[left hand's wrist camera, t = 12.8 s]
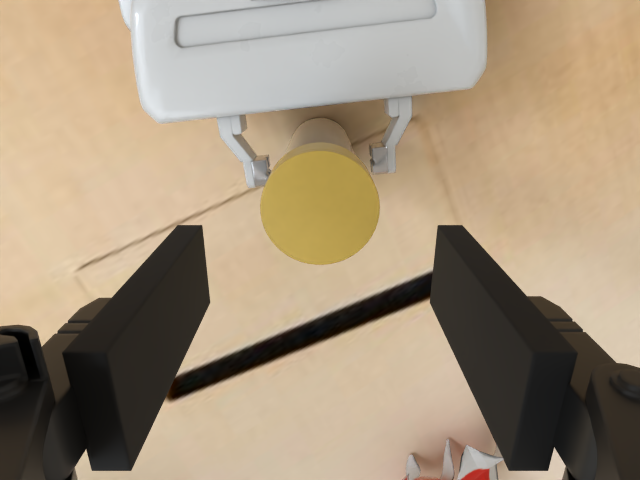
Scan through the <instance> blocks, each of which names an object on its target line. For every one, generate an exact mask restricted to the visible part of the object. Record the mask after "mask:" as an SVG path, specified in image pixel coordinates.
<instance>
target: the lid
mask: <svg viewBox="0 0 640 480" xmlns="http://www.w3.org/2000/svg"><path fill="white" fill-rule="evenodd" d="M260 211H261V218H262V223H263V226H264V228H265V231H266V233H267V235H268V236H269V238H270V239H271V241H272V242H273V243H274V244H275V246H276V247H277V248H279V249H280V250H281V251H282V252H283V253H285V254H286V255H288V256H289V257H291V258H293V259H295V260H298V261H300V262H304V263H308V264H315V265H324V264H332V263H336V262H339V261H342V260H345V259H347V258H349V257H351V256H352V255H354V254H355V253H357V252H358V251H359V250H360V249H362V248H363V247H364V246H365V244H366V243H367V242H368V241H369V239H370V238H371V236H372V235H373V233H374V231H375V229H376V226H377V223H378V218H379V211H380V204H379V197H378V192H377V189H376V187H375V184H374V182H373V180H372V178H371V176H370V174H369V172H368V170H367V168H366V167H365V165H364V164H363V162H362V161H361V160H360V159H359V158H358V157H357V156H356V155H354V154H353V153H352V152H350V151H349V150H347V149H345V148H343V147H341V146H338V145H335V144H331V143H323V142H316V143H309V144H305V145H302V146H299V147H297V148H295V149H293V150H291V151H289V152H288V153H287V154H286V155H284V156H283V157H282V158H281V159H280V160H279V161H278V162H277V164H276V165H275V166H274V168H273V170H272V172H271V174H270V176H269V178H268V180H267V182H266V184H265V187H264V189H263V192H262V197H261V204H260Z"/></svg>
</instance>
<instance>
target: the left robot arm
mask: <svg viewBox="0 0 640 480" xmlns="http://www.w3.org/2000/svg"><path fill="white" fill-rule="evenodd" d="M209 304H210V296H209V287H208V277H207V267H206V258H205V248H204V238H203V229H202V225H178V226H177V227H176V228H175V229H174V230H173V231H172V232H171V233H170V234H169V235H168V237H167V238H166V239H165V240H164V241H163V242H162V243H161V244H160V245H159V246H158V248H157V249H156V250H155V251H154V252H153V253H152V254H151V255H150V256H149V257H148V259H147V260H146V261H145V262H144V263H143V264H142V265H141V266H140V267H139V268H138V270H137V271H136V272H135V273H134V274H133V275H132V276H131V277H130V278H129V279H128V281H127V282H126V283H125V284H124V285H123V286H122V287H121V288H120V289H119V290H118V292H117V293H116V294H115V295H114V296H113V297H112V298H98V299H96V300H95V301H93V302H91V303H89V304H87V305H86V306H84V307H82V308H80V309H79V310H78V311H77V312H76V313H75V314H74V315H73V316H72V317H71V318H70V319H69V320H68V323H65V324H64V325H63V326H62V327H61V328H60V329H59V330H58V333H57V334H54V335H53V336H52V337H51V338H50V339H49V340H48V341H47V342H46V343H45V344H44V345H43V346H42V347H41V343H40V340H39V336H38V332H37V331H36V330H35V329H33V328H32V327H30V326H23V325H10V326H1V327H0V480H77V475H76V471H75V468H74V467H75V466H76V464H77V463H78V461H79V459H80V458H81V456H82V454H83V453H84V451H85V450H86V449H87V453H88V457H89V461H90V465H91V469H92V471H131V470H132V468H133V466H134V463H135V461H136V459H137V457H138V455H139V453H140V451H141V449H142V446H143V444H144V442H145V440H146V438H147V436H148V434H149V432H150V429H151V427H152V425H153V423H154V421H155V419H156V417H157V414H158V412H159V410H160V408H161V406H162V404H163V402H164V400H165V397H166V395H167V393H168V391H169V389H170V387H171V385H172V383H173V380H174V378H175V376H176V374H177V372H178V370H179V368H180V366H181V363H182V361H183V359H184V357H185V355H186V353H187V351H188V349H189V346H190V344H191V342H192V340H193V338H194V336H195V334H196V332H197V329H198V327H199V325H200V323H201V321H202V319H203V317H204V315H205V312H206V310H207V308H208V306H209ZM430 304H431V306H432V308H433V310H434V312H435V315H436V317H437V319H438V321H439V323H440V325H441V327H442V329H443V332H444V334H445V336H446V338H447V340H448V342H449V344H450V346H451V349H452V351H453V353H454V355H455V357H456V359H457V361H458V363H459V366H460V368H461V370H462V372H463V374H464V376H465V378H466V380H467V383H468V385H469V387H470V389H471V391H472V393H473V395H474V397H475V400H476V402H477V404H478V406H479V408H480V410H481V412H482V414H483V417H484V419H485V421H486V423H487V425H488V427H489V429H490V432H491V434H492V436H493V438H494V440H495V442H496V444H497V446H498V449H499V451H500V453H501V455H502V457H503V459H504V461H505V463H506V466H507V468H508V470H509V471H548V469H549V465H550V461H551V457H552V453H553V449H554V447H555V449H556V450H557V452H558V454H559V455H560V457H561V459H562V460H563V462H564V463H565V465H566V468H565V471H564V475H563V479H562V480H640V368H638V367H635V366H631V365H628V364H621V363H616V362H615V361H614V360H613V359H612V358H611V357H610V356H609V355H608V354H607V353H606V352H605V351H604V350H603V349H602V348H601V347H600V346H599V345H598V344H597V343H596V342H595V341H594V340H593V339H592V338H591V337H590V336H589V335H588V334H587V333H586V332H583V329H582V328H581V327H580V326H579V325H578V324H577V323H576V322H573V321H572V318H571V317H570V316H569V315H568V314H567V313H566V312H565V311H564V310H563V309H562V308H561V307H559V306H557V305H556V304H554V303H552V302H550V301H548V300H547V299H545V298H543V297H541V296H526V295H525V294H524V293H523V292H522V290H521V289H520V288H519V287H518V286H517V285H516V284H515V283H514V282H513V281H512V279H511V278H510V277H509V276H508V275H507V274H506V273H505V272H504V271H503V270H502V268H501V267H500V266H499V265H498V264H497V263H496V262H495V261H494V260H493V259H492V257H491V256H490V255H489V254H488V253H487V252H486V251H485V250H484V249H483V248H482V246H481V245H480V244H479V243H478V242H477V241H476V240H475V239H474V238H473V237H472V235H471V234H470V233H469V232H468V231H467V230H466V229H465V228H464V227H463V226H462V225H438V229H437V238H436V248H435V258H434V267H433V277H432V287H431V296H430Z"/></svg>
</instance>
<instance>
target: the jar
mask: <svg viewBox="0 0 640 480" xmlns="http://www.w3.org/2000/svg"><path fill="white" fill-rule="evenodd" d="M316 142H323V143H331V144H335V145H338V146H341V147H343V148H345V149H347V150H349V151H350V152H352V153H353V154H354V155H355V153H354V150H353V148H352V145H351V143H350V140H349V138H348V136H347V134H346V132H345V130H344V129H343V128H342V127H341V126H340V125H339V124H338V123H336V122H335V121H333V120H330V119H327V118H313V119H310V120H307V121H305V122H304V123H302V124H301V125H300V126H299V127H298V128H297V129H296V130H295V132H294V134H293V136H292V138H291V141H290V143H289V145H288V148H287V150H286V153H285V155H286V154H287V153H288V152H289V151H291V150H293V149H295V148H297V147H299V146H302V145H305V144H309V143H316Z"/></svg>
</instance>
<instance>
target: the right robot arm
mask: <svg viewBox="0 0 640 480" xmlns="http://www.w3.org/2000/svg"><path fill="white" fill-rule="evenodd" d="M119 5H120V9H121V13H122V17H123V19H124V22H125V24H126V26H127V28H128V29H129V30H130V32H131V43H132V54H133V63H134V70H135V77H136V83H137V88H138V94H139V99H140V103H141V106H142V108H143V110H144V111H145V112H146V113H147V114H148V115H149V116H150V117H151V118H153V119H154V120H155V121H156V122H157V123H160V124H164V123H173V122H182V121H191V120H200V119H209V118H217V122H218V127H219V133H220V137H221V138H222V140H223V141H224V142H225V143H226V144H227V146H228V147H229V148H230V149H231V151H232V152H233V153H234V154H235V155H236V157H237V158H238V159H239V160H240V161H241V162H243V165H244V171H245V176H246V182H247V186H248V188H256V187H262V186H265V184H266V182H267V180H268V178H269V176H270V174H271V170H270V169H269V166H270V159H269V155H261V156H257V155H256V154H255V152H254V151H253V150H252V148H251V147H250V146H249V144H248V143H247V142H246V140H245V139H244V138H243V136H242V135H241V133H243V132H244V131H245V130H246V129H247V123H246V116H245V114H253V113H262V112H271V111H280V110H289V109H298V108H307V107H316V106H325V105H333V104H342V103H351V102H360V101H369V100H378V99H384V110H385V113H386V114H387V115H388V116H390V117H391V118H392V119H391V121H390V123H389V126H388V128H387V130H386V132H385V134H384V136H383V138H382V140H381V142H380V143H373V144H369V154H370V156H371V157H372V158H371V160H370V167H371V172H372V174H373V175H376V174H387V173H395V172H396V156H395V145H397V144H398V142H399V140H400V139H401V137H402V135H403V133H404V131H405V129H406V127H407V125H408V123H409V121H410V119H411V117H412V96H414V95H422V94H431V93H440V92H449V91H458V90H467V89H471V88H473V87H474V86H475V84H476V83H477V82H478V80H479V79H480V78H481V76H482V75H483V73H484V71H485V69H486V65H487V19H486V5H485V0H119Z"/></svg>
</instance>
